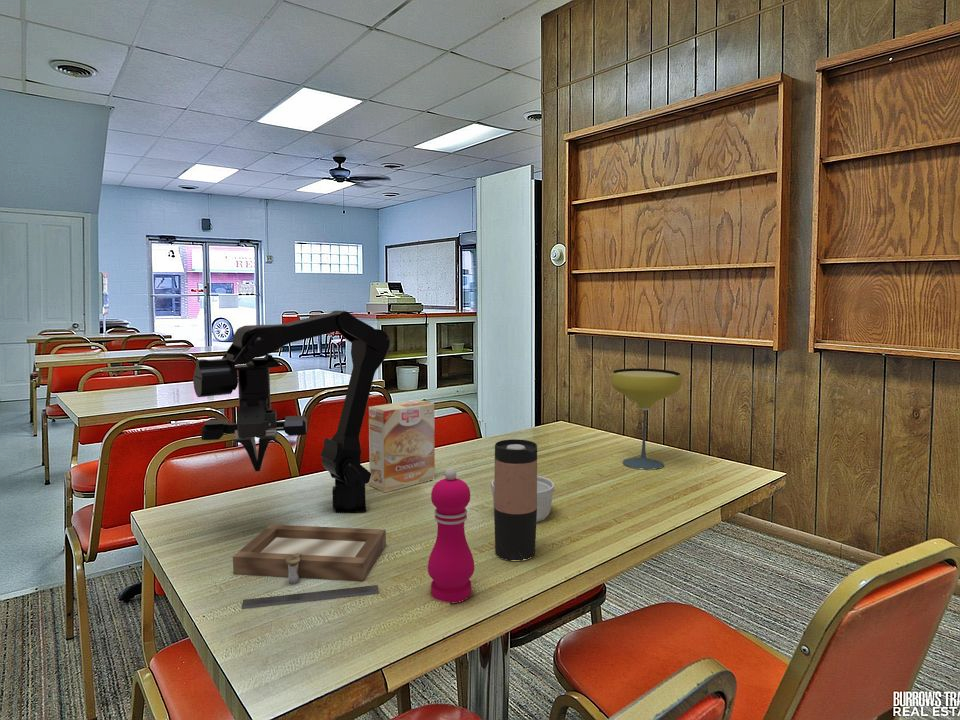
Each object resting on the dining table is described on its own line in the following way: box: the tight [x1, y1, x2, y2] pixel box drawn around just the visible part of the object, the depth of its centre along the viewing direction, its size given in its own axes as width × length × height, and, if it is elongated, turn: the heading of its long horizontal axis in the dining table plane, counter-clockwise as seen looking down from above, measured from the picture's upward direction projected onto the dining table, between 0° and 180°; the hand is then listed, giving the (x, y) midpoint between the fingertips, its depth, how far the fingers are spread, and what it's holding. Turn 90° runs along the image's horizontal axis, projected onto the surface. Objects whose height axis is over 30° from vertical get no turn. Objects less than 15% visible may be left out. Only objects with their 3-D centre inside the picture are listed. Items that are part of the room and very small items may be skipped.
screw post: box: [287, 563, 300, 585], centre depth 99 cm, size 2×2×4 cm
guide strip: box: [240, 584, 380, 610], centre depth 94 cm, size 20×2×1 cm, turn 104°
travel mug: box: [493, 438, 538, 561], centre depth 110 cm, size 8×8×20 cm
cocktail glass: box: [610, 367, 683, 469], centre depth 166 cm, size 18×18×25 cm
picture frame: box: [232, 523, 387, 582], centre depth 106 cm, size 22×17×4 cm
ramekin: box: [490, 475, 555, 523], centre depth 130 cm, size 13×13×7 cm
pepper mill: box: [427, 468, 475, 603], centre depth 95 cm, size 7×7×20 cm
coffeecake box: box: [368, 399, 436, 493], centre depth 150 cm, size 15×7×20 cm, turn 131°
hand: (257, 470), depth 120 cm, fingers closed
